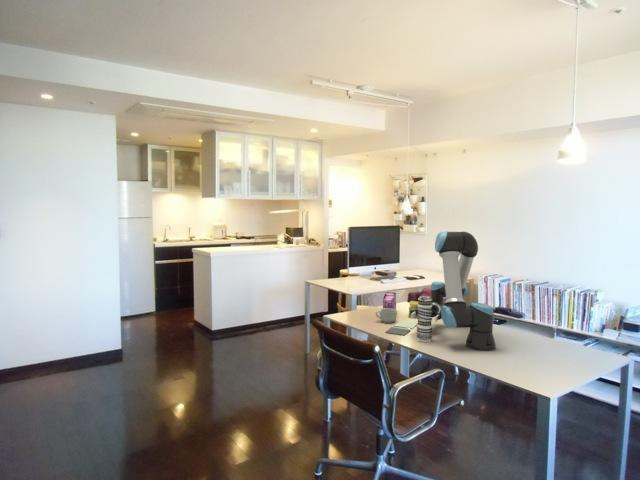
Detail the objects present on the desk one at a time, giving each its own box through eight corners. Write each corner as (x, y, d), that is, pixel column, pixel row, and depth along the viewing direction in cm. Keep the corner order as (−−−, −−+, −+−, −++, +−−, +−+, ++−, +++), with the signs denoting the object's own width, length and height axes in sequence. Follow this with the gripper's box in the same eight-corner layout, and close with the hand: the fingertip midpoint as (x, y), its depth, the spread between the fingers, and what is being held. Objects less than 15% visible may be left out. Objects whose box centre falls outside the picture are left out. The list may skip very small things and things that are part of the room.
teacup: (396, 320, 287) (396, 308, 287) (397, 324, 277) (397, 312, 276) (375, 319, 289) (375, 307, 288) (375, 323, 278) (375, 311, 277)
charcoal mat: (410, 330, 263) (410, 329, 263) (404, 335, 252) (404, 334, 252) (391, 328, 268) (391, 327, 268) (385, 333, 258) (385, 332, 258)
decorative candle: (435, 341, 243) (436, 297, 241) (421, 342, 240) (422, 298, 238) (427, 336, 251) (428, 294, 249) (413, 337, 249) (413, 295, 247)
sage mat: (417, 324, 277) (417, 323, 277) (412, 329, 266) (412, 328, 266) (399, 322, 282) (399, 321, 282) (393, 326, 272) (393, 325, 272)
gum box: (393, 319, 290) (394, 299, 289) (381, 318, 292) (382, 298, 291) (396, 310, 313) (396, 292, 312) (385, 310, 315) (385, 291, 314)
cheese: (408, 318, 293) (408, 303, 292) (409, 314, 303) (410, 300, 302) (424, 319, 290) (424, 304, 289) (424, 315, 300) (425, 301, 299)
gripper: (453, 318, 256) (445, 327, 237) (412, 313, 268) (402, 321, 249) (454, 306, 255) (446, 314, 237) (413, 301, 267) (402, 308, 249)
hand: (423, 317), depth 243 cm, fingers open, 13 cm apart
